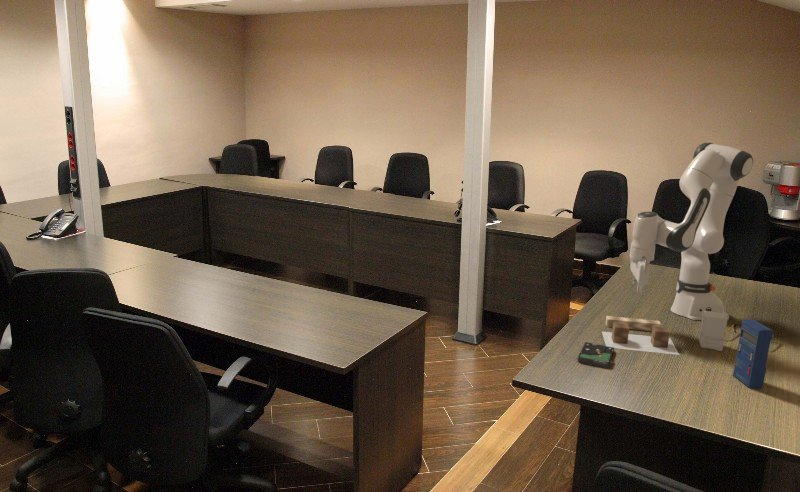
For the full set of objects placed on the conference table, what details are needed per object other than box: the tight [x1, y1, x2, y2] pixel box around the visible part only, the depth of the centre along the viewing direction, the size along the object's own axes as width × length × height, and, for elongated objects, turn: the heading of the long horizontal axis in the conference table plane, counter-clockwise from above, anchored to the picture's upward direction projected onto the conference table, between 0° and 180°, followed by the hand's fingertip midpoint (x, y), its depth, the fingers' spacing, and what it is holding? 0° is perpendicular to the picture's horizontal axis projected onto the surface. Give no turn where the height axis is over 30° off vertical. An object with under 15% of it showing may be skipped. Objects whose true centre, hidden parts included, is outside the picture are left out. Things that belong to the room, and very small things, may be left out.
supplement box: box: [698, 311, 728, 352], centre depth 233 cm, size 7×7×13 cm
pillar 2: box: [651, 326, 671, 348], centre depth 232 cm, size 5×5×6 cm
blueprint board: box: [601, 331, 680, 356], centre depth 234 cm, size 25×16×1 cm, turn 79°
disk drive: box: [577, 341, 615, 369], centre depth 221 cm, size 10×3×15 cm
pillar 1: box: [611, 323, 630, 344], centre depth 235 cm, size 5×5×6 cm
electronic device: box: [732, 318, 774, 390], centre depth 204 cm, size 10×5×20 cm, turn 5°
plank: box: [605, 315, 662, 332], centre depth 249 cm, size 20×4×4 cm, turn 78°
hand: (637, 288), depth 246 cm, fingers open, 8 cm apart
